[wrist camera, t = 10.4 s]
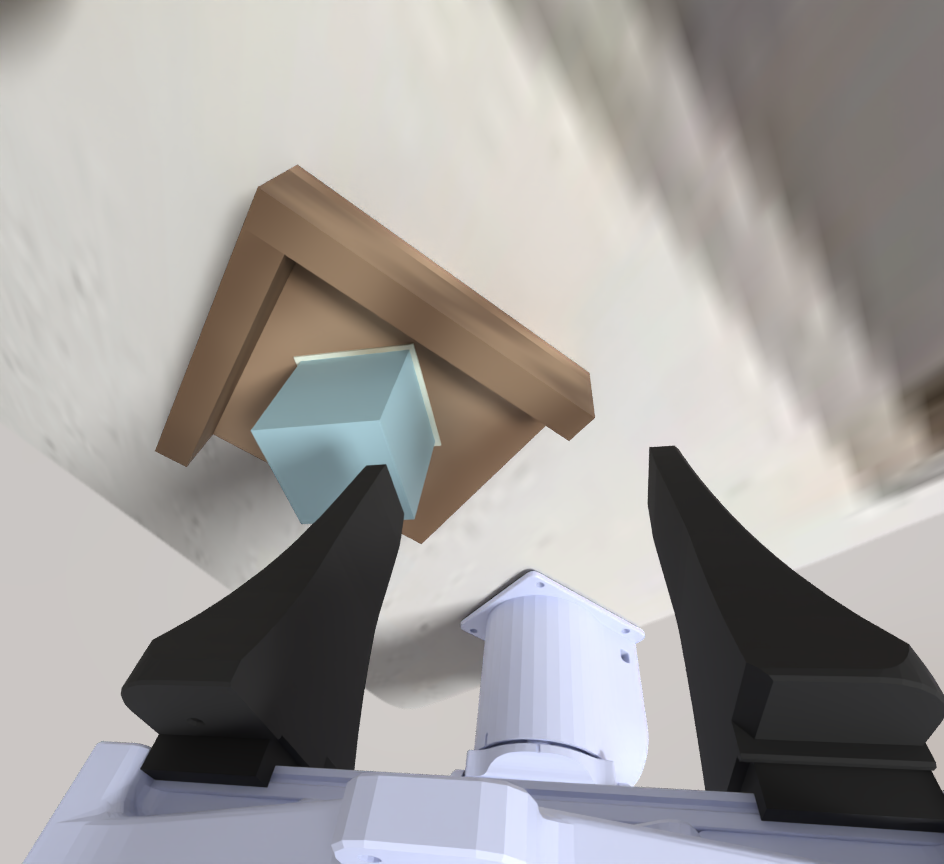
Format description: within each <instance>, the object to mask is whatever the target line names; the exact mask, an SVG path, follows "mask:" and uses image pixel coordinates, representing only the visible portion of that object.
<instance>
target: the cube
mask: <svg viewBox="0 0 944 864" xmlns="http://www.w3.org/2000/svg"><path fill="white" fill-rule="evenodd" d="M251 432H252V434H253V436H254V438H255V440H256V441H257V443H258V445H259V447H260V449H261V451H262V453H263V454H264V456H265V458H266V460H267V462H268V464H269V465H270V467H271V469H272V471H273V473H274V475H275V477H276V478H277V480H278V482H279V484H280V486H281V488H282V490H283V491H284V493H285V495H286V497H287V499H288V501H289V502H290V504H291V506H292V508H293V510H294V512H295V514H296V515H297V517H298V519H299V521H300V523H301V524H313V523H314V522H315V521H316V520H317V519H318V518H319V517H320V516H321V515H322V514H323V513H324V512H325V511H326V510H327V509H328V508H329V506H330V505H331V504H332V503H333V502H334V501H335V500H336V499H337V498H338V497H339V495H340V494H341V493H342V492H343V491H344V490H345V489H346V487H347V486H348V485H349V484H350V483H351V482H352V481H353V480H354V478H355V477H356V476H357V475H358V474H359V473H360V472H361V471H362V470H363V468H364V467H365V466H366V465H380V464H386V465H387V467H388V470H389V473H390V476H391V478H392V481H393V484H394V487H395V489H396V492H397V495H398V498H399V500H400V503H401V506H402V509H403V511H404V520H411V519H415V516H416V512H417V508H418V504H419V501H420V497H421V493H422V489H423V485H424V482H425V478H426V474H427V470H428V467H429V463H430V459H431V455H432V452H433V448H434V444H435V440H434V436H433V432H432V429H431V425H430V422H429V418H428V415H427V411H426V407H425V404H424V400H423V397H422V393H421V390H420V386H419V382H418V379H417V375H416V372H415V368H414V365H413V361H412V357H411V354H410V350H401V351H392V352H383V353H374V354H364V355H355V356H346V357H336V358H327V359H318V360H309V361H301V362H300V363H299V365H298V366H297V367H296V369H295V370H294V372H293V373H292V374H291V376H290V377H289V378H288V380H287V381H286V383H285V384H284V385H283V387H282V388H281V389H280V391H279V392H278V394H277V395H276V396H275V398H274V399H273V400H272V402H271V403H270V405H269V406H268V407H267V409H266V410H265V411H264V413H263V414H262V416H261V417H260V418H259V420H258V421H257V422H256V424H255V425H254V427H253V428H252V429H251Z"/></svg>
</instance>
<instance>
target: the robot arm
mask: <svg viewBox="0 0 944 864" xmlns="http://www.w3.org/2000/svg"><path fill="white" fill-rule="evenodd" d="M648 509H649V515H650V522H651V528H652V534H653V539H654V543H655V546H656V550H657V553H658V557H659V560H660V564H661V567H662V571H663V574H664V578H665V581H666V585H667V588H668V592H669V595H670V599H671V602H672V605H673V609H674V612H675V616H676V620H677V624H678V629H679V634H680V639H681V644H682V650H683V655H684V661H685V666H686V672H687V677H688V684H689V690H690V696H691V701H692V706H693V713H694V719H695V726H696V732H697V738H698V745H699V751H700V758H701V764H702V771H703V778H704V785H705V791H702V790H686V789H685V790H684V789H668V788H650V787H634V785H635V784H636V782H637V781H638V779H639V778H640V776H641V773H642V771H643V768H644V765H645V762H646V757H647V752H648V727H647V720H646V714H645V706H644V699H643V692H642V686H641V679H640V672H639V665H638V659H637V652H636V645H635V644H636V643H638V642H640V641H641V640H643V639H644V638H645V634H644V631H643V630H642V629H640V628H638V627H637V626H635V625H633V624H631V623H629V622H627V621H626V620H624V619H622V618H620V617H618V616H617V615H615V614H613V613H611V612H609V611H608V610H606V609H604V608H602V607H600V606H598V605H597V604H595V603H593V602H591V601H589V600H588V599H586V598H584V597H582V596H580V595H578V594H577V593H575V592H573V591H571V590H569V589H568V588H566V587H564V586H562V585H560V584H559V583H557V582H555V581H553V580H551V579H549V578H548V577H546V576H544V575H542V574H540V573H539V572H536V571H531V572H528V573H526V574H525V575H524V576H522V577H521V578H520V579H518V580H517V581H515V582H514V583H513V584H511V585H510V586H509V587H507V588H506V589H505V590H503V591H502V592H500V593H499V594H498V595H496V596H495V597H494V598H492V599H491V600H489V601H488V602H487V603H485V604H484V605H483V606H481V607H480V608H479V609H477V610H476V611H474V612H473V613H472V614H470V615H469V616H468V617H466V618H465V619H464V620H462V621H461V629H462V630H464V631H466V632H468V633H470V634H472V635H474V636H476V637H478V638H480V639H482V640H484V641H485V645H484V655H483V666H482V676H481V686H480V696H479V707H478V717H477V727H476V737H475V747H474V750H468V751H467V759H466V768H465V770H459V769H456V770H454V771H453V772H452V773H451V775H450V776H444V775H427V774H426V775H425V774H410V773H392V772H374V771H358V770H354V768H355V759H356V750H357V740H358V731H359V724H360V717H361V709H362V703H363V695H364V689H365V683H366V677H367V671H368V665H369V659H370V654H371V649H372V644H373V638H374V633H375V629H376V625H377V621H378V617H379V613H380V610H381V607H382V603H383V600H384V597H385V593H386V590H387V587H388V583H389V580H390V577H391V574H392V570H393V567H394V563H395V560H396V557H397V553H398V550H399V546H400V540H401V534H402V528H403V521H404V511H403V509H402V506H401V503H400V500H399V498H398V495H397V492H396V489H395V487H394V484H393V481H392V478H391V476H390V473H389V470H388V467H387V465H386V464H380V465H366V466H365V467H364V468H363V470H362V471H361V472H360V473H359V474H358V475H357V476H356V477H355V478H354V480H353V481H352V482H351V483H350V484H349V485H348V486H347V487H346V489H345V490H344V491H343V492H342V493H341V494H340V495H339V497H338V498H337V499H336V500H335V501H334V502H333V503H332V504H331V505H330V506H329V508H328V509H327V510H326V511H325V512H324V513H323V514H322V515H321V516H320V517H319V518H318V519H317V520H316V521H315V522H314V523H313V524H312V525H311V526H310V527H309V528H308V529H307V530H306V531H305V532H304V533H303V534H302V535H301V536H300V537H299V538H298V539H297V540H296V541H295V542H294V543H293V544H292V545H291V546H290V547H289V548H288V549H287V550H285V551H284V552H283V553H282V554H281V555H280V556H279V557H277V558H276V559H275V560H274V561H273V562H271V563H270V564H269V565H268V566H267V567H265V568H264V569H263V570H262V571H260V572H259V573H258V574H256V575H255V576H254V577H252V578H251V579H250V580H248V581H247V582H246V583H244V584H243V585H242V586H240V587H239V588H238V589H236V590H235V591H233V592H232V593H231V594H229V595H228V596H226V597H225V598H223V599H222V600H220V601H219V602H217V603H216V604H214V605H212V606H211V607H209V608H208V609H206V610H205V611H203V612H202V613H200V614H198V615H196V616H195V617H193V618H191V619H190V620H188V621H186V622H184V623H183V624H181V625H179V626H177V627H175V628H174V629H172V630H170V631H168V632H166V633H165V634H163V635H161V636H159V637H157V638H155V639H153V640H152V642H151V643H150V645H149V646H148V648H147V649H146V651H145V652H144V654H143V656H142V657H141V659H140V660H139V662H138V663H137V665H136V667H135V668H134V670H133V671H132V673H131V675H130V676H129V678H128V679H127V681H126V682H125V684H124V685H123V687H122V690H121V696H122V699H123V701H124V703H125V705H126V706H127V707H128V708H129V709H130V710H131V711H132V712H133V713H134V714H136V715H137V716H138V717H139V718H140V719H142V720H143V721H144V722H145V723H146V724H148V725H149V726H150V727H151V728H152V729H154V730H155V731H156V732H157V733H158V734H159V735H158V737H157V739H156V741H155V743H154V744H153V746H152V748H151V747H149V746H146V745H143V744H138V743H125V742H104V741H102V742H99V743H97V745H96V746H95V748H94V750H93V751H92V753H91V754H90V756H89V757H88V759H87V761H86V762H85V764H84V765H83V767H82V769H81V770H80V772H79V773H78V775H77V777H76V778H75V780H74V782H73V783H72V785H71V786H70V788H69V790H68V791H67V793H66V794H65V796H64V798H63V799H62V801H61V802H60V804H59V805H58V807H57V809H56V810H55V812H54V814H53V815H52V817H51V818H50V820H49V822H48V823H47V825H46V827H45V828H44V830H43V831H42V833H41V834H40V836H39V838H38V839H37V841H36V842H35V844H34V846H33V848H32V849H31V851H30V852H29V854H28V855H27V857H26V859H25V860H24V862H23V863H22V864H944V790H943V791H942V790H941V789H940V786H939V785H938V783H937V781H936V779H935V777H934V775H933V773H932V771H931V770H935V769H936V762H935V760H934V758H933V756H932V754H931V752H930V750H929V749H928V747H927V745H926V741H927V740H928V739H929V737H930V736H931V735H932V733H933V732H934V731H935V730H936V728H937V727H938V726H939V725H940V723H941V722H942V720H943V719H944V694H943V693H942V691H941V689H940V688H939V686H938V684H937V682H936V681H935V679H934V678H933V676H932V675H931V673H930V672H929V670H928V669H927V668H926V666H925V665H924V663H923V662H922V661H921V659H920V658H919V657H918V656H917V654H916V653H915V652H914V650H913V649H912V648H911V646H910V645H909V644H907V643H906V642H904V641H902V640H901V639H899V638H897V637H895V636H894V635H892V634H890V633H888V632H887V631H885V630H883V629H881V628H880V627H878V626H876V625H874V624H872V623H871V622H869V621H867V620H866V619H864V618H862V617H860V616H859V615H857V614H856V613H854V612H852V611H851V610H849V609H848V608H846V607H845V606H843V605H842V604H840V603H838V602H837V601H835V600H834V599H832V598H831V597H829V596H828V595H826V594H825V593H823V592H822V591H821V590H820V589H818V588H816V587H815V586H814V585H813V584H811V583H810V582H808V581H807V580H806V579H804V578H803V577H801V576H800V575H799V574H797V573H796V572H795V571H793V570H792V569H791V568H790V567H788V566H787V565H786V564H785V563H784V562H782V561H781V560H780V559H779V558H777V557H776V556H775V555H774V554H773V553H772V552H770V551H769V550H768V549H767V548H766V547H765V546H763V545H762V544H761V543H760V542H759V541H758V540H757V539H756V538H755V537H754V536H753V535H751V534H750V533H749V532H748V531H747V530H746V529H745V528H744V527H743V526H742V525H741V524H740V523H739V522H738V521H737V520H736V519H735V518H734V517H733V516H732V515H731V514H730V512H729V511H728V510H727V509H726V508H725V507H724V506H723V505H722V504H721V503H720V502H719V500H718V499H717V498H716V497H715V496H714V495H713V494H712V492H711V491H710V490H709V489H708V488H707V487H706V485H705V484H704V483H703V482H702V480H701V479H700V478H699V477H698V475H697V474H696V473H695V472H694V470H693V469H692V468H691V466H690V465H689V464H688V462H687V461H686V459H685V458H684V456H683V455H682V454H681V452H680V451H679V449H678V448H677V447H675V446H662V447H649V477H648Z"/></svg>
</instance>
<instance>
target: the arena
mask: <svg viewBox="0 0 944 864" xmlns="http://www.w3.org/2000/svg"><path fill="white" fill-rule="evenodd" d="M401 350H410V354H411V357H412V361H413V365H414V368H415V372H416V375H417V379H418V382H419V386H420V390H421V393H422V397H423V400H424V404H425V407H426V411H427V415H428V418H429V422H430V425H431V429H432V432H433V436H434V440H435V444H434V448H433V452H432V455H431V459H430V463H429V467H428V470H427V474H426V478H425V482H424V485H423V489H422V493H421V497H420V501H419V504H418V508H417V512H416V516H415V519H411V520H404V521H403V528H402V534H403V535H405V536H407V537H409V538H411V539H413V540H415V541H416V542H418V543H420V544H422V543H423V542H424V541H425V540H426V539H427V538H428V537H429V536H430V535H431V534H432V533H434V532H435V531H436V530H437V529H438V528H439V527H440V526H441V525H442V524H443V523H444V522H445V521H446V520H447V519H448V518H449V517H450V516H451V515H452V514H453V513H455V512H456V511H457V510H458V509H459V508H460V507H461V506H462V505H463V504H464V503H465V502H466V501H467V500H468V499H469V498H470V497H471V496H472V495H473V494H475V493H476V492H477V491H478V490H479V489H480V488H481V487H482V486H483V485H484V484H485V483H486V482H487V481H488V480H489V479H490V478H491V477H492V476H493V475H494V474H496V473H497V472H498V471H499V470H500V469H501V468H502V467H503V466H504V465H505V464H506V463H507V462H508V461H509V460H510V459H511V458H512V457H513V456H514V455H515V454H517V453H518V452H519V451H520V450H521V449H522V448H523V447H524V446H525V445H526V444H527V443H528V442H529V441H530V440H531V439H532V438H533V437H534V436H535V435H536V434H538V433H539V432H540V431H541V430H542V429H543V428H544V427H545V426H547V427H549V428H550V429H552V430H553V431H555V432H556V433H558V434H559V435H561V436H562V437H564V438H565V439H567V440H568V441H569V440H571V439H572V438H573V437H574V436H575V435H576V434H577V433H578V432H580V431H581V430H582V429H583V428H584V427H585V426H586V425H587V424H589V423H590V422H591V421H592V420H593V419H594V418H595V414H594V406H593V398H592V390H591V382H590V374H589V372H587V371H586V370H584V369H583V368H582V367H580V366H579V365H577V364H576V363H575V362H573V361H572V360H570V359H569V358H568V357H566V356H565V355H563V354H562V353H561V352H559V351H558V350H556V349H555V348H554V347H552V346H551V345H549V344H548V343H547V342H545V341H544V340H542V339H541V338H540V337H538V336H537V335H535V334H534V333H533V332H531V331H530V330H528V329H527V328H526V327H524V326H523V325H521V324H520V323H519V322H517V321H516V320H514V319H513V318H512V317H510V316H509V315H507V314H506V313H505V312H503V311H502V310H500V309H499V308H498V307H496V306H495V305H493V304H492V303H491V302H489V301H488V300H486V299H485V298H484V297H482V296H481V295H479V294H478V293H476V292H475V291H474V290H472V289H471V288H469V287H468V286H467V285H465V284H464V283H462V282H461V281H460V280H458V279H457V278H455V277H454V276H453V275H451V274H450V273H448V272H447V271H446V270H444V269H443V268H441V267H440V266H439V265H437V264H436V263H434V262H433V261H432V260H430V259H429V258H427V257H426V256H425V255H423V254H422V253H420V252H419V251H418V250H416V249H415V248H413V247H412V246H411V245H409V244H408V243H406V242H405V241H404V240H402V239H401V238H399V237H398V236H397V235H395V234H394V233H392V232H391V231H390V230H388V229H387V228H385V227H384V226H383V225H381V224H380V223H378V222H377V221H376V220H374V219H373V218H371V217H370V216H369V215H367V214H366V213H364V212H363V211H362V210H360V209H359V208H357V207H356V206H355V205H353V204H352V203H350V202H349V201H348V200H346V199H345V198H343V197H342V196H340V195H339V194H338V193H336V192H335V191H333V190H332V189H331V188H329V187H328V186H326V185H325V184H324V183H322V182H321V181H319V180H318V179H317V178H315V177H314V176H312V175H311V174H310V173H308V172H307V171H305V170H304V169H303V168H301V167H300V166H298V165H296V166H294V167H293V168H291V169H289V170H287V171H286V172H284V173H282V174H280V175H279V176H277V177H275V178H273V179H271V180H270V181H268V182H266V183H264V184H263V185H261V186H259V187H258V188H257V191H256V193H255V196H254V199H253V201H252V204H251V206H250V209H249V211H248V214H247V216H246V219H245V222H244V224H243V227H242V229H241V232H240V234H239V237H238V240H237V242H236V245H235V247H234V250H233V252H232V255H231V258H230V260H229V263H228V265H227V268H226V270H225V273H224V275H223V278H222V281H221V283H220V286H219V288H218V291H217V293H216V296H215V299H214V301H213V304H212V306H211V309H210V311H209V314H208V316H207V319H206V322H205V324H204V327H203V329H202V332H201V334H200V337H199V340H198V342H197V345H196V347H195V350H194V352H193V355H192V358H191V360H190V363H189V365H188V368H187V370H186V373H185V375H184V378H183V381H182V383H181V386H180V388H179V391H178V393H177V396H176V399H175V401H174V404H173V406H172V409H171V411H170V414H169V416H168V419H167V422H166V424H165V427H164V429H163V432H162V434H161V437H160V440H159V442H158V445H157V447H156V450H155V451H156V452H158V453H160V454H162V455H164V456H166V457H168V458H170V459H172V460H174V461H176V462H178V463H180V464H182V465H184V466H186V467H187V466H188V465H189V463H190V462H191V461H192V460H193V458H194V457H195V456H196V455H197V453H198V452H199V451H200V450H201V449H202V447H203V446H204V445H205V444H206V442H207V441H208V440H209V439H210V437H211V436H212V435H213V434H214V435H216V436H218V437H219V438H221V439H223V440H225V441H227V442H229V443H231V444H233V445H235V446H237V447H238V448H240V449H242V450H244V451H246V452H248V453H250V454H252V455H254V456H255V457H257V458H259V459H261V460H263V461H265V462H267V460H266V458H265V456H264V454H263V453H262V451H261V449H260V447H259V445H258V443H257V441H256V440H255V438H254V436H253V434H252V432H251V429H252V428H253V427H254V425H255V424H256V422H257V421H258V420H259V418H260V417H261V416H262V414H263V413H264V411H265V410H266V409H267V407H268V406H269V405H270V403H271V402H272V400H273V399H274V398H275V396H276V395H277V394H278V392H279V391H280V389H281V388H282V387H283V385H284V384H285V383H286V381H287V380H288V378H289V377H290V376H291V374H292V373H293V372H294V370H295V369H296V367H297V366H298V365H299V363H300V362H301V361H309V360H318V359H327V358H336V357H346V356H355V355H364V354H374V353H383V352H392V351H401ZM267 463H268V462H267Z"/></svg>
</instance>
